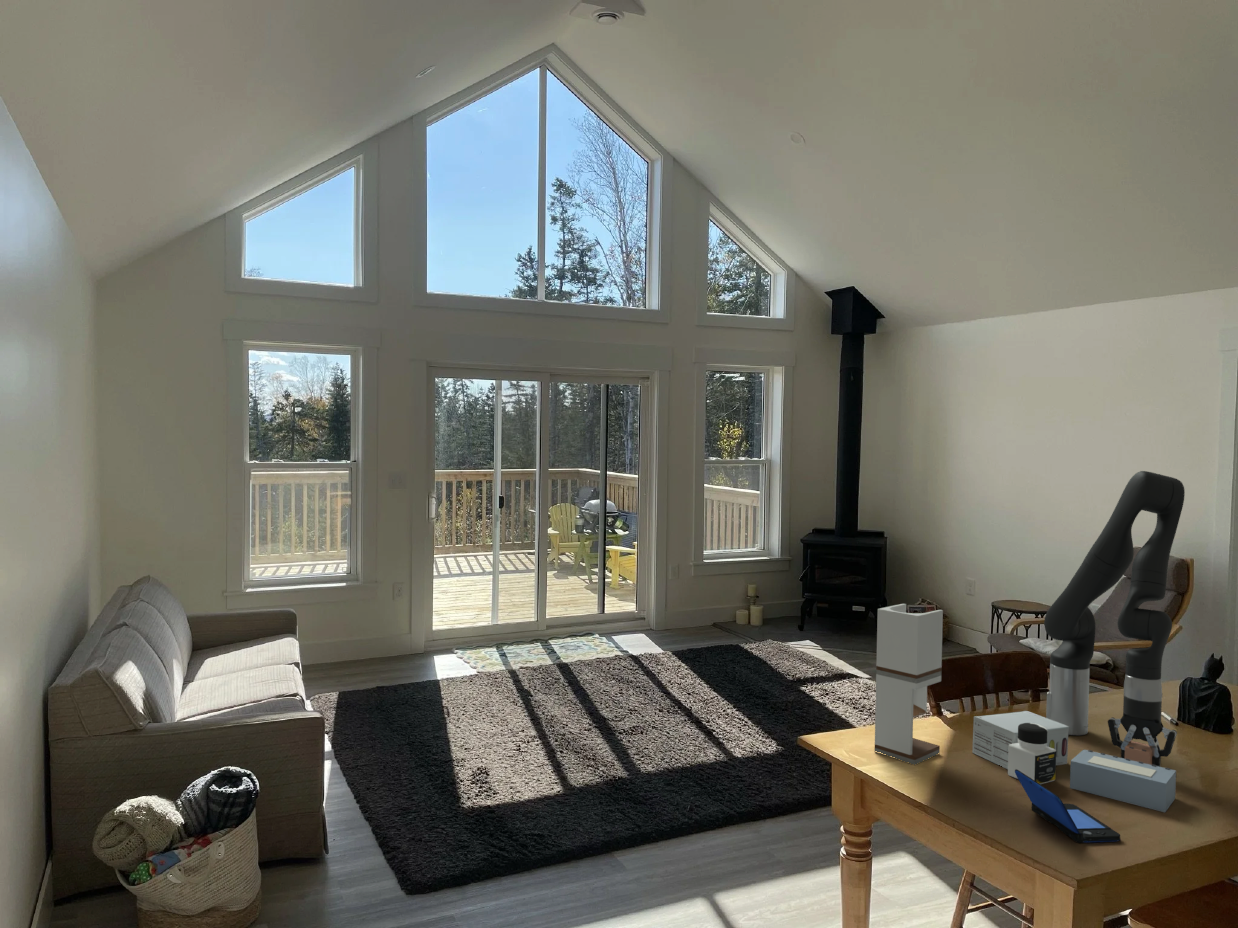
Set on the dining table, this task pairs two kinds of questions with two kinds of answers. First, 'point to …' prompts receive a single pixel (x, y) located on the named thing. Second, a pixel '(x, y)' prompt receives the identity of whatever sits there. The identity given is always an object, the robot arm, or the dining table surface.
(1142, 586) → the robot arm
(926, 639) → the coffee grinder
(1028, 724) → the medicine bottle
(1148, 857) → the dining table surface
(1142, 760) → the stub
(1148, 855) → the dining table surface
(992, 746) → the supplement box
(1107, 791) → the block
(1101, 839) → the handheld game console
